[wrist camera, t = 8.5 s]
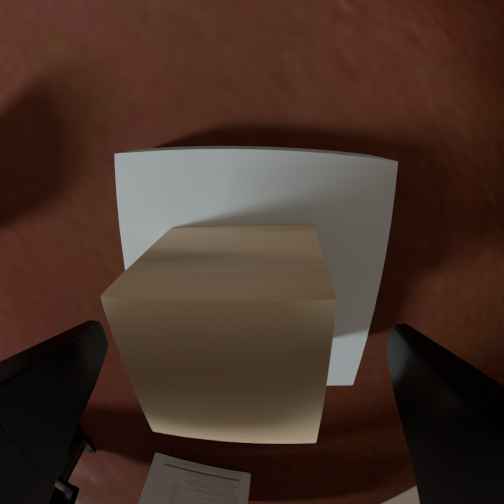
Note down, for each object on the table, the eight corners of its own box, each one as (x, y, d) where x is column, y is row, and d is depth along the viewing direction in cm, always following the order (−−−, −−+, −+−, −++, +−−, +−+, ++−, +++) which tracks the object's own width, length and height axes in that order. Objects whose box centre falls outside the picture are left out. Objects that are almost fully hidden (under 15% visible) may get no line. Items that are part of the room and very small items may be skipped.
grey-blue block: (341, 336, 17) (352, 385, 13) (169, 324, 17) (145, 368, 14) (367, 154, 13) (397, 161, 9) (155, 147, 14) (114, 153, 10)
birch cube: (308, 342, 12) (316, 443, 7) (190, 340, 13) (152, 431, 8) (312, 223, 10) (337, 298, 6) (171, 227, 11) (100, 295, 6)
